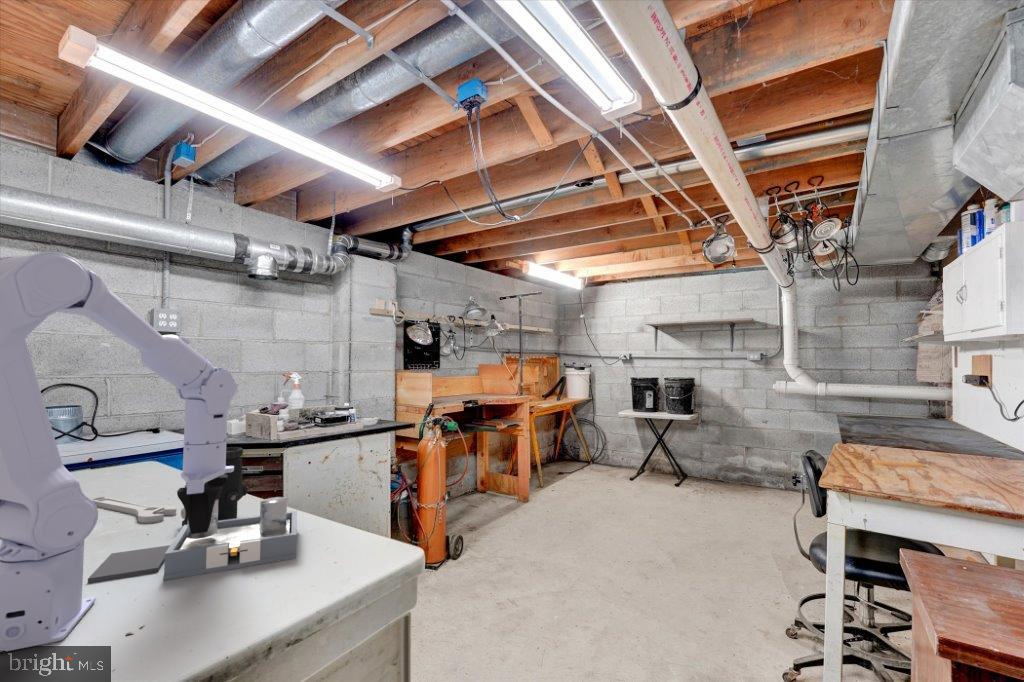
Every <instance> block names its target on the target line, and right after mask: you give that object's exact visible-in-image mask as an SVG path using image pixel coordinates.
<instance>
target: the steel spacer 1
mask: <svg viewBox="0 0 1024 682" xmlns="http://www.w3.org/2000/svg"><path fill="white" fill-rule="evenodd" d="M217 526H218V499H216V501H215V504H214V507H213V512H212V517H211V522H210V526H209V529H208V531H207V532H204V533H197V534H191V531H190V527H189V523H187V538H190V539H199V538H205V537H209V536H212V535H214V534H216V533H217Z"/></svg>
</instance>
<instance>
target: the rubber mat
mask: <svg viewBox="0 0 1024 682" xmlns="http://www.w3.org/2000/svg"><path fill="white" fill-rule="evenodd" d="M170 545H171V544H169V545H163V546H162V545H160V546H156V547H148V548H147V547H146V548H140V549H134V550H127V551H119V552H113V553H112V552H111V553H110V554H109V555H108V556H107V558H106V559H105V560H103V562H102V563H101V564H100V565H99V566H98V567H97V568H96V569H95V570H94V571H93V572H92V574H91V575H89V577H88V578H87V583H88V584H90V583H96V582H101V581H107V580H108V581H109V580H114V579H120V578H121V579H122V578H127V577H132V576H138V575H145V574H151V573H157V572H158V573H159V570H160V569H161V568H162V566H163V565H164V563H165V553H166V551H167V550H168V548H169V547H170Z"/></svg>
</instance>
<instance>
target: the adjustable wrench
mask: <svg viewBox="0 0 1024 682" xmlns="http://www.w3.org/2000/svg"><path fill="white" fill-rule="evenodd" d="M90 499H91V500H92V501H93V502H94V503H95V504H96V506H97V508H103V509H106V510H111V511H116V512H120V513H125V514H130V515H134V516H136V517H137V521H138V523H141V524H153V523H158V522H163V521H164V516H176V515H177V507H176V506H175V505H171V504H166V505H165V504H163V505H151V506H150V505H143V504H140V503H136V502H135V503H134V502H130V501H126V500H121V499H116V498H111V497H106V496H100V497H99V496H98V497H93V498H90Z"/></svg>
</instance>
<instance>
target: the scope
mask: <svg viewBox="0 0 1024 682" xmlns="http://www.w3.org/2000/svg"><path fill="white" fill-rule="evenodd" d="M243 454H244V449H243V448H242V447H238V446H233V447H232V446H230V447H227V446H226V466H234V471H233V472H230V473H225V474H226V475H228V478H227V480H226V481H225V483H224V485H223V487H222V490H221V493H220V496H219V499H218V521H220V520H228V519H236V518H238V502H239V501H240V500H241V499H242V498H243V497H244V496H246V495H247V494H248V492H249V491H248V490H249V487H248V486H247V485H246V484H245V483H244V482H243V458H242V456H243ZM185 487H187V484H185V485H184V488H185ZM180 516H181V518H182V519H183V520H182V522H181V528H182V527H183V526H184V525H187V523H188V518H187V514H186V510H185V508H184V507H183V508H181V510H180Z"/></svg>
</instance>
